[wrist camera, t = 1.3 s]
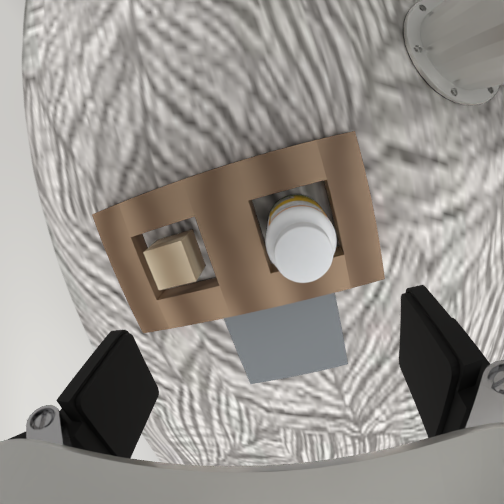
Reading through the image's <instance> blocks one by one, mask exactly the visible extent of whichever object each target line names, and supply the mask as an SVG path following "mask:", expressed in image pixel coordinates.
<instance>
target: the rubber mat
mask: <svg viewBox="0 0 504 504" xmlns="http://www.w3.org/2000/svg"><path fill="white" fill-rule="evenodd" d="M224 320H225V323H226V325H227V328H228V330H229V333H230V335H231V338H232V340H233V343H234V345H235V347H236V350H237V352H238V355H239V357H240V360H241V362H242V364H243V367H244V369H245V372H246V374H247V376H248V379H249V381H250V383H251V384H253V383H260V382H266V381H271V380H277V379H282V378H288V377H293V376H298V375H303V374H307V373H312V372H317V371H321V370H325V369H330V368H334V367H338V366H342V365H346V364H348V362H347V356H346V350H345V345H344V339H343V333H342V328H341V323H340V317H339V312H338V307H337V302H336V297H335V293H331V294H327V295H323V296H319V297H315V298H311V299H307V300H303V301H299V302H295V303H291V304H286V305H282V306H278V307H273V308H269V309H265V310H260V311H256V312H251V313H246V314H242V315H237V316H232V317H228V318H224Z"/></svg>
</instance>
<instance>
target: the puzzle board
mask: <svg viewBox="0 0 504 504" xmlns="http://www.w3.org/2000/svg"><path fill="white" fill-rule="evenodd" d="M323 180H324V183H325V187H326V191H327V195H328V199H329V203H330V207H331V211H332V215H333V220H334V224H335V228H336V233H337V237H338V242H339V247H336V250H335V253H334V255H333V260H332V264H331V266H330V268H329V269H328V271H327V272H326V273H325V274H324V275H323V276H322V277H320V278H319V279H317V280H315V281H312V282H307V283H298V282H294V281H291V280H289V279H287V278H286V277H284V276H283V275H282V274H281V273H280V271H279V270H278V268H277V267H276V266H275V265H274V264H271V262H270V258H269V256H268V253H267V250H266V245H265V242H264V238H263V235H262V232H261V228H260V225H259V222H258V219H257V215H256V212H255V209H254V205H253V202H252V199H256V198H260V197H263V196H267V195H270V194H274V193H278V192H281V191H285V190H289V189H292V188H296V187H300V186H304V185H308V184H312V183H315V182H319V181H323ZM92 216H93V219H94V222H95V224H96V227H97V230H98V232H99V235H100V238H101V240H102V243H103V245H104V248H105V250H106V253H107V255H108V258H109V260H110V263H111V265H112V267H113V270H114V272H115V274H116V277H117V279H118V281H119V284H120V286H121V288H122V290H123V292H124V295H125V297H126V299H127V301H128V303H129V305H130V307H131V310H132V312H133V314H134V316H135V318H136V320H137V322H138V324H139V326H140V328H141V330H142V332H143V333H148V332H154V331H159V330H165V329H171V328H176V327H182V326H187V325H192V324H198V323H203V322H208V321H213V320H218V319H223V318H228V317H232V316H237V315H242V314H246V313H251V312H256V311H260V310H265V309H269V308H273V307H278V306H282V305H286V304H291V303H295V302H299V301H303V300H307V299H311V298H315V297H319V296H323V295H327V294H331V293H335V292H339V291H343V290H346V289H350V288H354V287H358V286H361V285H365V284H369V283H372V282H376V281H379V280H383V279H385V277H384V270H383V263H382V256H381V249H380V243H379V237H378V231H377V226H376V220H375V215H374V210H373V205H372V200H371V195H370V190H369V186H368V181H367V177H366V173H365V169H364V164H363V160H362V156H361V152H360V148H359V145H358V141H357V137H356V134H355V131H353V132H348V133H343V134H339V135H335V136H330V137H326V138H322V139H318V140H314V141H310V142H306V143H302V144H298V145H294V146H290V147H286V148H283V149H279V150H275V151H272V152H268V153H265V154H261V155H258V156H254V157H251V158H248V159H244V160H241V161H238V162H234V163H231V164H228V165H225V166H222V167H218V168H215V169H212V170H209V171H206V172H203V173H200V174H197V175H194V176H191V177H188V178H185V179H183V180H180V181H177V182H174V183H171V184H168V185H166V186H163V187H160V188H158V189H155V190H152V191H150V192H147V193H144V194H142V195H139V196H136V197H134V198H131V199H129V200H126V201H124V202H121V203H119V204H116V205H114V206H111V207H109V208H107V209H104V210H102V211H100V212H97V213H95V214H93V215H92ZM192 217H195V218H196V221H197V224H198V227H199V230H200V233H201V236H202V239H203V241H204V244H205V247H206V250H207V253H208V256H209V258H210V261H211V264H212V267H213V269H214V272H215V275H216V278H212V279H208V280H204V281H200V282H196V283H192V284H187V285H183V286H179V287H175V288H171V289H167V290H164V289H163V290H159V289H158V287H157V285H156V282H155V280H154V277H153V275H152V273H151V270H150V268H149V265H148V263H147V260H146V258H145V255H144V253H143V252H144V251H145V250H146V249H148V248H147V245H146V243H145V240H144V237H143V235H142V233H145V232H148V231H151V230H154V229H157V228H160V227H163V226H166V225H170V224H173V223H176V222H179V221H182V220H185V219H189V218H192Z"/></svg>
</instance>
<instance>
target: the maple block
mask: <svg viewBox="0 0 504 504" xmlns="http://www.w3.org/2000/svg"><path fill="white" fill-rule="evenodd" d="M143 253H144V255H145V258H146V260H147V263H148V265H149V268H150V270H151V273H152V275H153V277H154V280H155V282H156V285H157V287H158V289H159V290H163V289H167V288H171V287H175V286H179V285H184V284H188V283H192V282H196V281H197V279H198V278H199V276H200V274H201V273H202V271H203V269H204V268H205V266H206V265H205V262H204V260H203V257H202V254H201V251H200V249H199V246H198V243H197V240H196V237H195V235H194V232H193V229H192V230H189V231H185V232H182V233H179V234H175V235H172V236H169V237H165V238H162V239H159V240H157V241H156V242H155V243H154V244H152V245H151V246H150V247H149V248H148V249H146V250H145V251H144V252H143Z"/></svg>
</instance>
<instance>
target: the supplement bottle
mask: <svg viewBox="0 0 504 504" xmlns="http://www.w3.org/2000/svg"><path fill="white" fill-rule="evenodd" d="M336 244H337V239H336V233H335V229H334V227H333V225H332V223H331V222H330V220H329V219H328V217H327V216H326V214H325V213H324V211H323V210H322V208H321V207H320V206H319V204H318V203H317V202H315V201H314V200H313V199H311V198H309V197H307V196H304V195H298V194H295V195H289V196H286V197H284V198H282V199H280V200H279V201H278V202H277V203H276V204H275V205H274V206H273V208H272V209H271V211H270V214H269V218H268V225H267V232H266V250H267V253H268V256H269V258H270V260H271V261H272V263H273V264H274V265H275V266H276V267H277V268H278V270H279V271H280V273H281V274H282V275H283V276H284V277H286V278H287V279H289V280H291V281H294V282H298V283H307V282H312V281H315V280H317V279H319V278H320V277H322V276H323V275H324V274H325V273H326V272H327V271H328V269H329V268H330V266H331V264H332V260H333V255H334V253H335V250H336Z"/></svg>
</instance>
